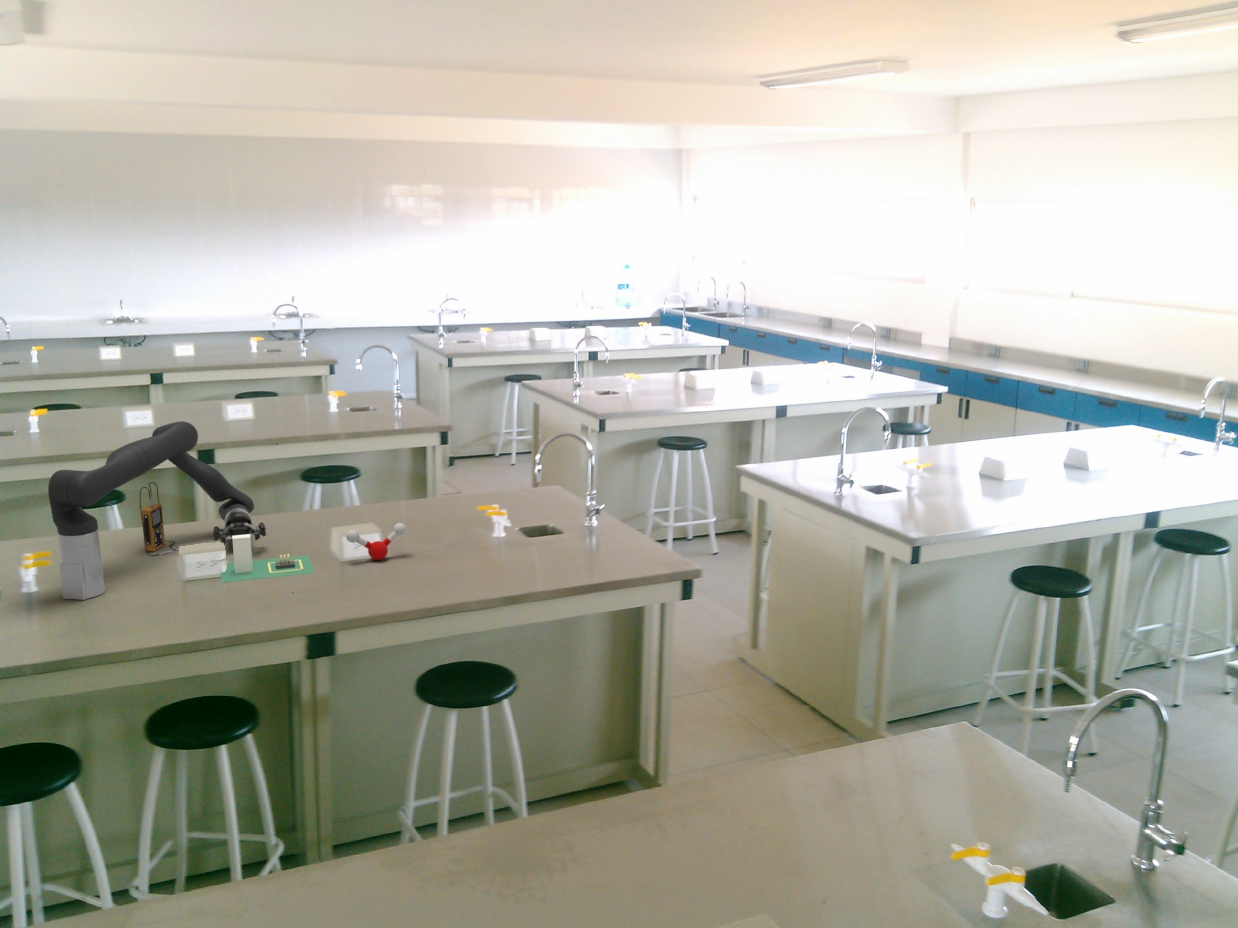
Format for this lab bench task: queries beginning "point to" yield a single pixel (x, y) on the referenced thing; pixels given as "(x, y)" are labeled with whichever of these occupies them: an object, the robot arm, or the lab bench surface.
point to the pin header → (285, 563)
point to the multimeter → (153, 525)
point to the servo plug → (242, 553)
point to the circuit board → (268, 569)
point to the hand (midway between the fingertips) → (240, 538)
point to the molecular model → (377, 548)
